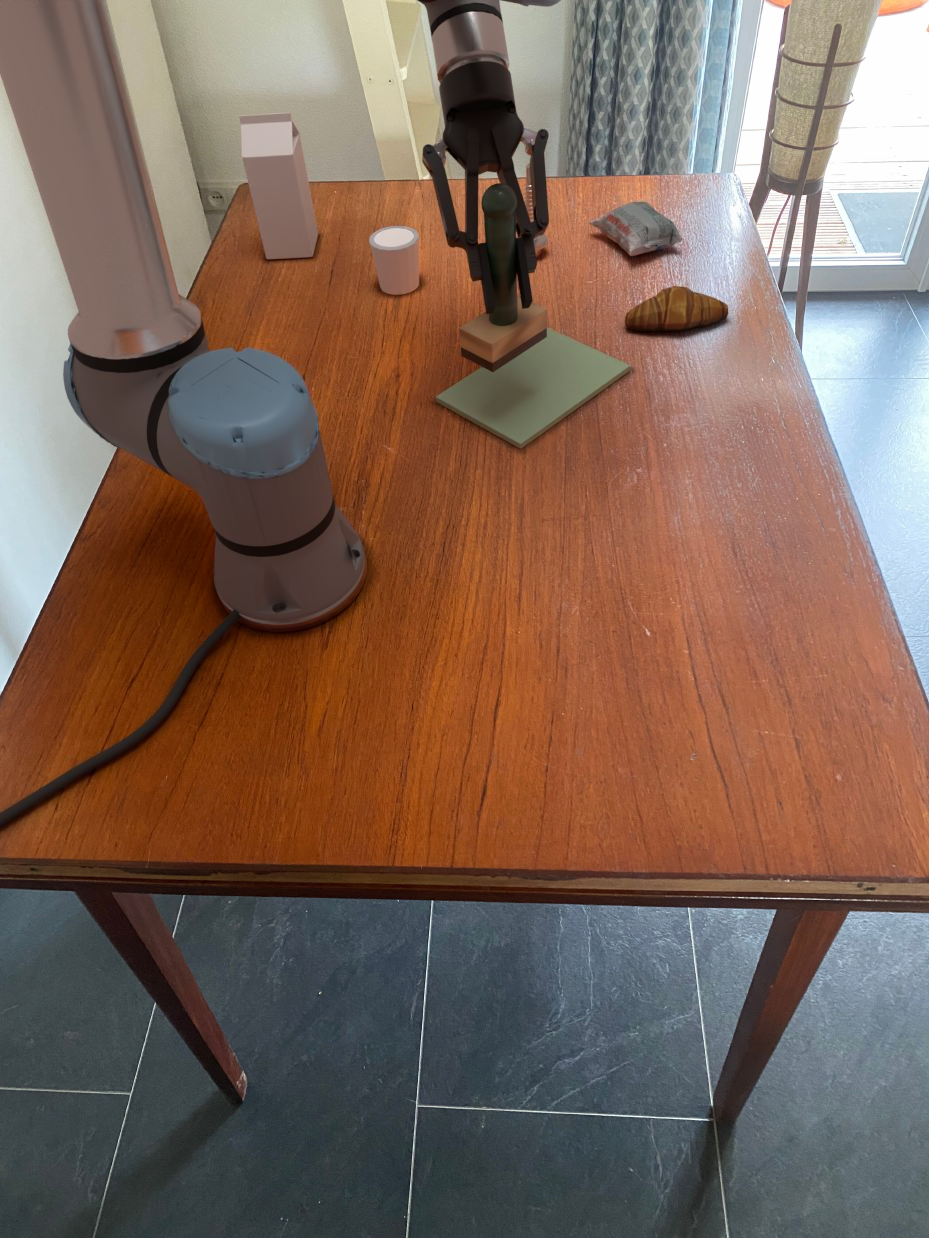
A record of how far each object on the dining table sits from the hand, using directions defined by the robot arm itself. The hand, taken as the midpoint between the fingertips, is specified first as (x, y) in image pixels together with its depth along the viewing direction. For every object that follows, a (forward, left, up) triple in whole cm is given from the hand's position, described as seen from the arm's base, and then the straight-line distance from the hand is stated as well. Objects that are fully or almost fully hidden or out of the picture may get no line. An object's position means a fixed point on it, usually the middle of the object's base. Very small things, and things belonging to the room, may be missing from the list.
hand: (509, 307), depth 95 cm
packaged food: (+42, +15, -15) cm, 47 cm away
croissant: (+29, -2, -15) cm, 33 cm away
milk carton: (+10, +55, -15) cm, 58 cm away
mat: (+7, +3, -15) cm, 17 cm away
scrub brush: (+2, +3, -7) cm, 8 cm away
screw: (+31, +25, -15) cm, 43 cm away
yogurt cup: (+13, +34, -15) cm, 40 cm away
